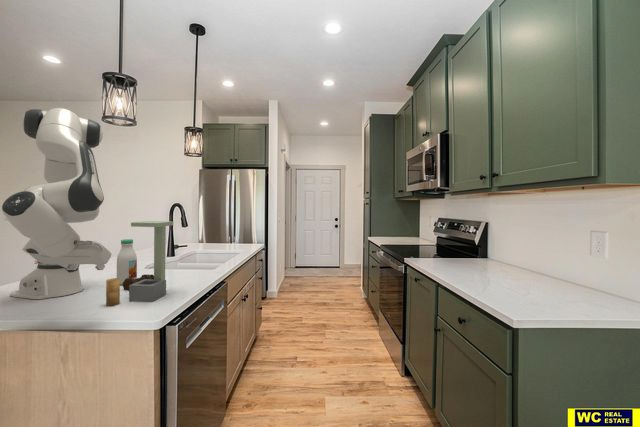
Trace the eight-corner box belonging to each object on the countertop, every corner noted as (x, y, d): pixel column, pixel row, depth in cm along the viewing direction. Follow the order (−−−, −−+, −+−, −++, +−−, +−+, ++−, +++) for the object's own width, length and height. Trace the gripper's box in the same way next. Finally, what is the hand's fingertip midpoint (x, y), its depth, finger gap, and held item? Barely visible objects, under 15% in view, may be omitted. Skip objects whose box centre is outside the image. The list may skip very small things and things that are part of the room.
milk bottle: (121, 286, 127) (121, 241, 126) (113, 283, 131) (113, 239, 131) (140, 282, 133) (140, 239, 133) (131, 280, 138) (132, 238, 137)
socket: (129, 301, 108) (129, 285, 108) (144, 293, 117) (144, 279, 117) (152, 301, 108) (152, 286, 108) (166, 294, 117) (166, 279, 117)
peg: (103, 305, 103) (103, 280, 103) (111, 302, 107) (111, 278, 107) (114, 306, 103) (114, 281, 103) (122, 302, 107) (122, 278, 107)
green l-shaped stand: (130, 299, 110) (131, 222, 109) (149, 290, 122) (150, 220, 121) (156, 300, 110) (157, 223, 109) (173, 291, 122) (173, 221, 121)
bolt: (153, 285, 136) (129, 294, 121) (145, 279, 137) (120, 287, 122) (159, 275, 136) (136, 282, 121) (151, 269, 136) (126, 275, 122)
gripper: (101, 233, 85) (124, 260, 95) (31, 232, 85) (61, 259, 95) (89, 250, 80) (114, 277, 90) (16, 250, 80) (49, 276, 90)
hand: (87, 268), depth 93 cm, fingers open, 8 cm apart
